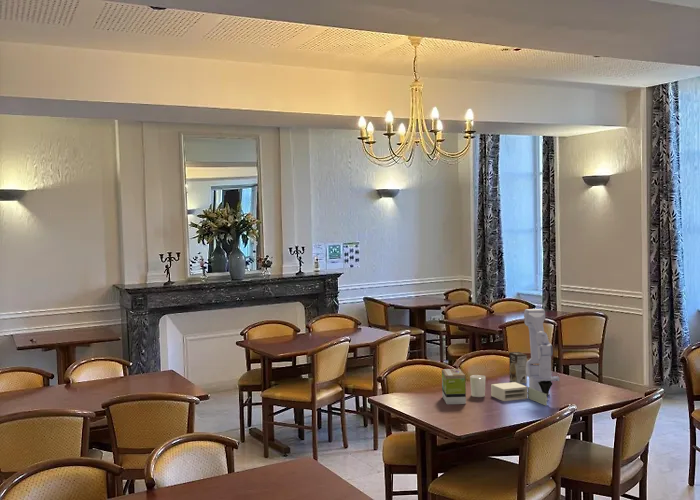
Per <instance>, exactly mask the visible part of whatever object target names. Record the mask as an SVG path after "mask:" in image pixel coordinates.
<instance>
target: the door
mask: <svg viewBox="0 0 700 500" xmlns="http://www.w3.org/2000/svg"><path fill="white" fill-rule="evenodd" d="M527 387H528V399H529V400H531V401H534V402H536V403H539V404H541V405H543V406H547V404H548V401H549V400H548V397H547V394H545V393H543V392H540V391H537V390H535V389H532V388H530V387H529V386H527Z"/></svg>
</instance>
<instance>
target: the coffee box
mask: <svg viewBox="0 0 700 500" xmlns="http://www.w3.org/2000/svg"><path fill="white" fill-rule="evenodd" d="M527 359H528V355H527V354H525V353H523V352H520V351H511V352H509V381H510V382H516V383H519V384H521V385H524V384H528V376H527V375H526V362H527V361H528V360H527ZM523 383H524V384H523Z"/></svg>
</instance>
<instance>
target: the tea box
mask: <svg viewBox="0 0 700 500" xmlns="http://www.w3.org/2000/svg"><path fill="white" fill-rule="evenodd" d="M441 389H442V390H441V392H442V395H441V396H442V398H443V400H444V403H446V405H466V404H467V390H466V374H465V373H464V372H463V371H462V369H461V368H444V369H443V368H442V369H441Z"/></svg>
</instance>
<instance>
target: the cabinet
mask: <svg viewBox="0 0 700 500" xmlns="http://www.w3.org/2000/svg"><path fill="white" fill-rule="evenodd" d="M528 387H529V386H527V385H524V384H519V383H516V382H512V381H510V382H500V383H491V385H490V389H491V391H490V396H491V397H493V398H495V399H498V400H500V401H502V402H509V401H519V400H527V399H528Z"/></svg>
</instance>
